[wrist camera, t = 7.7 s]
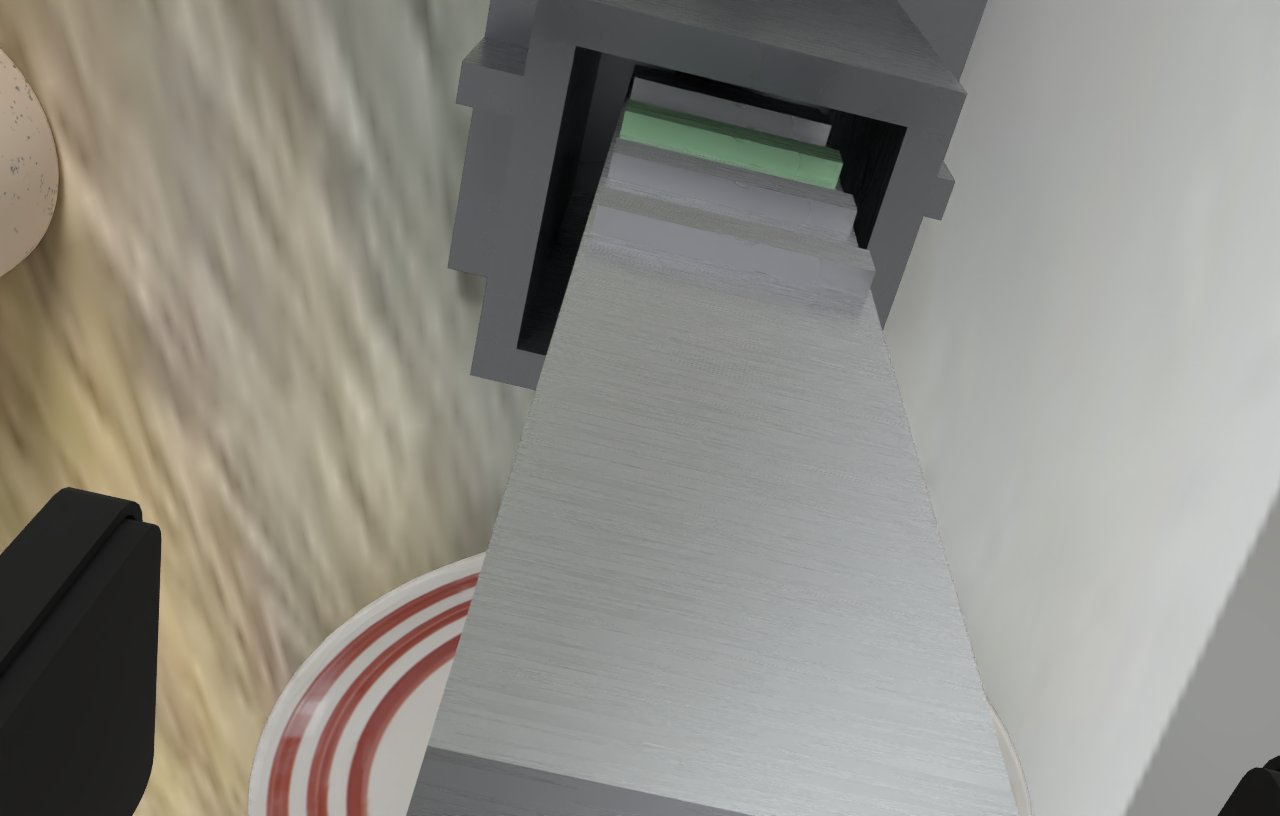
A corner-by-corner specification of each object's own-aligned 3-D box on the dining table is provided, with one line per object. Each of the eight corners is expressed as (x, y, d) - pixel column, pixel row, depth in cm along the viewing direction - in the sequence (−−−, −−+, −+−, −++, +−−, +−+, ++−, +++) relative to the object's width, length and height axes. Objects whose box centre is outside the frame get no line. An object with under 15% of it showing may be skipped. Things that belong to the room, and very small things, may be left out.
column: (639, 44, 25) (397, 824, 6) (825, 91, 25) (1103, 971, 7) (592, 256, 27) (313, 1283, 9) (763, 296, 27) (844, 1384, 9)
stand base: (529, -200, 29) (430, -185, 19) (1002, -79, 30) (1140, -5, 20) (456, 253, 35) (350, 443, 25) (855, 346, 36) (905, 568, 26)
